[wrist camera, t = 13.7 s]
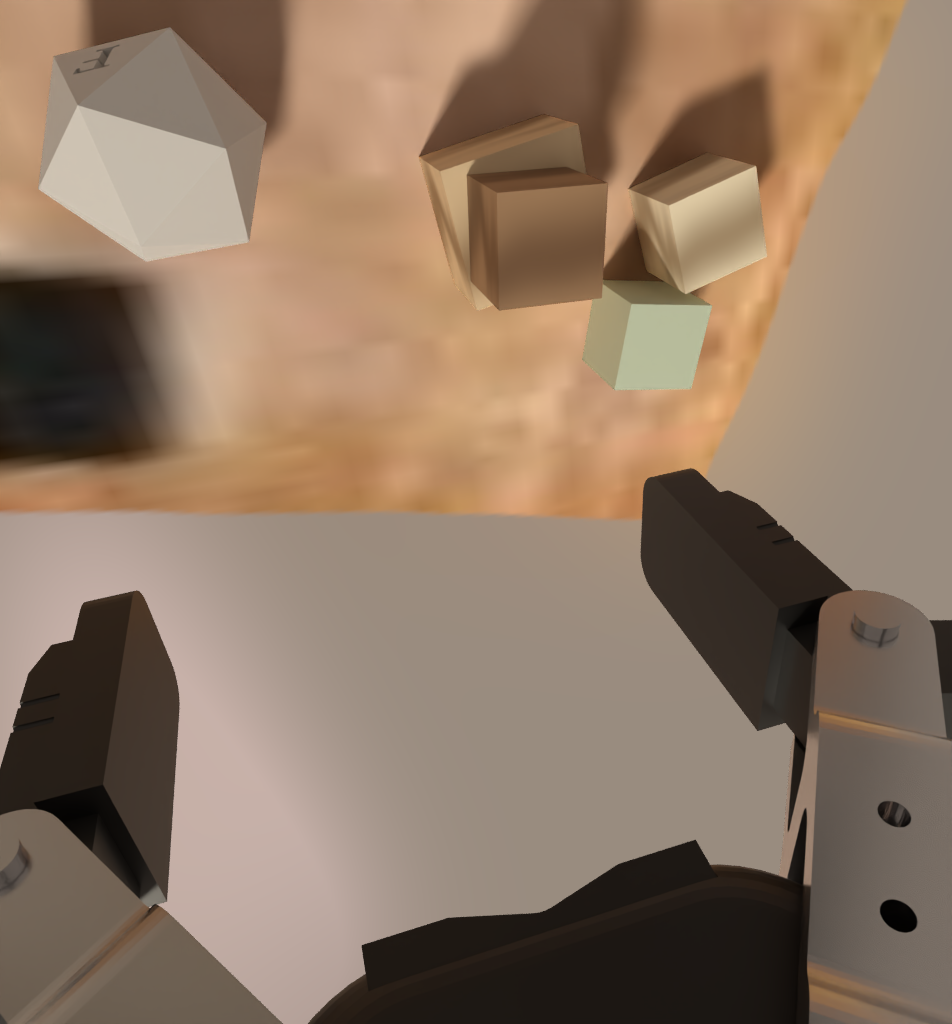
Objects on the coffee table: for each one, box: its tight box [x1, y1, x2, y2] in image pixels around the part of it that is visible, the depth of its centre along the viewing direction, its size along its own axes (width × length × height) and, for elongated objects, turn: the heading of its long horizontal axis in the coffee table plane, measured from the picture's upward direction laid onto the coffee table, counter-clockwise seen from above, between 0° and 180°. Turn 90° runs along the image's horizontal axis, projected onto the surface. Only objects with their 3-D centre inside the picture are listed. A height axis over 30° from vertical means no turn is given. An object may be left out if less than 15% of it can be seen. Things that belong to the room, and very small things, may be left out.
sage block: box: [582, 280, 712, 390], centre depth 46 cm, size 5×5×5 cm
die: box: [38, 27, 267, 261], centre depth 34 cm, size 8×9×10 cm
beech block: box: [628, 153, 767, 294], centre depth 44 cm, size 5×5×5 cm
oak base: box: [419, 114, 587, 311], centre depth 41 cm, size 7×7×5 cm
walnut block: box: [467, 167, 608, 310], centre depth 36 cm, size 5×5×5 cm
